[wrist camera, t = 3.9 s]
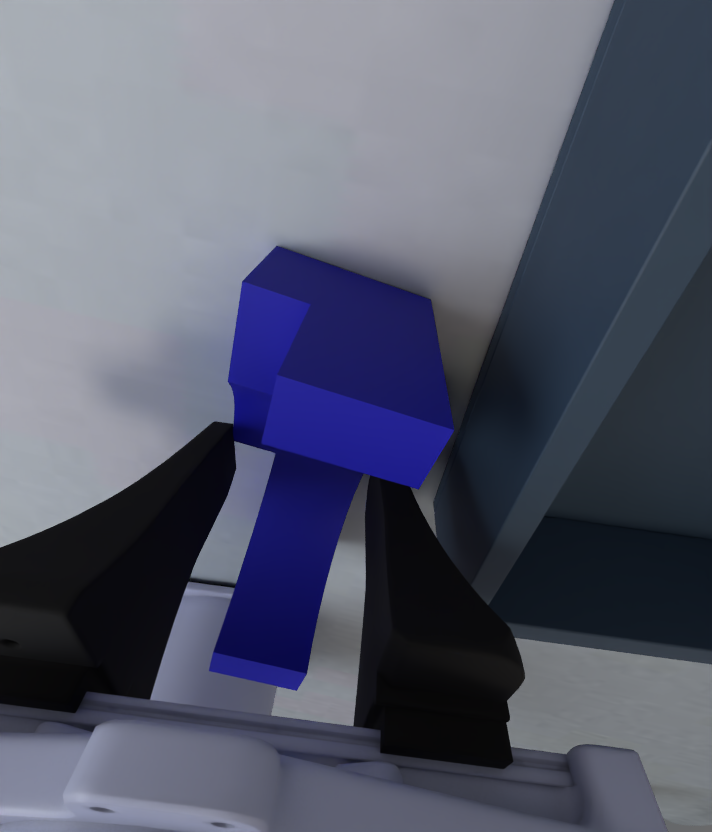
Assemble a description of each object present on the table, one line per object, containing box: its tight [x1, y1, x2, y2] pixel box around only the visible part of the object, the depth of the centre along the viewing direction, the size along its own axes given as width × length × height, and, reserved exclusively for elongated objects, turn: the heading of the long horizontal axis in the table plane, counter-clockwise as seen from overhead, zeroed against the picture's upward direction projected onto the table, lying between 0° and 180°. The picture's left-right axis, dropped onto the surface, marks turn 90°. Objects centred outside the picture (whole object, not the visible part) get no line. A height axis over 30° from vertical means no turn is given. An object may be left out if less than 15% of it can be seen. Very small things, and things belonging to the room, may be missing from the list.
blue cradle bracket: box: [209, 246, 454, 691], centre depth 12 cm, size 12×4×6 cm, turn 162°
